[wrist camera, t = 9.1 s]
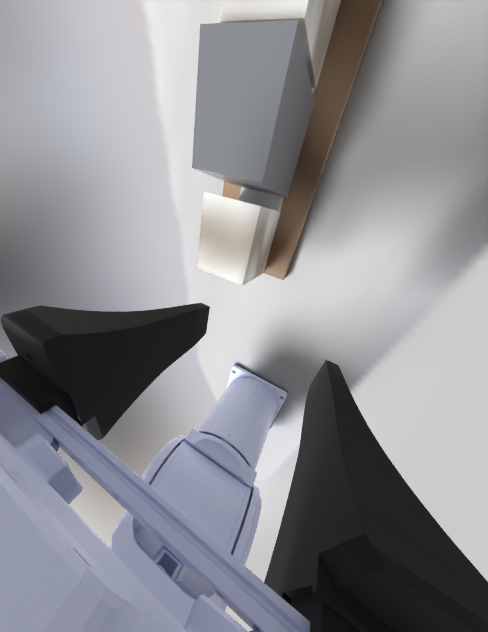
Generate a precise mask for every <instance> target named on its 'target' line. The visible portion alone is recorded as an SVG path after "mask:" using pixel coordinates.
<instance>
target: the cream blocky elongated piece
mask: <svg viewBox="0 0 488 632" xmlns="http://www.w3.org/2000/svg"><path fill="white" fill-rule="evenodd" d="M382 3H383V0H221V11H220V23H239V22H262V21H284V20H298V21H299V26H300V31H301V36H302V41H303V46H304V52H305V57H306V62H307V67H308V72H309V77H310V82H311V87H312V93H313V98H314V107H313V110H312V114H311V117H310V120H309V124H308V127H307V131H306V134H305V138H304V141H303V145H302V148H301V152H300V155H299V159H298V162H297V166H296V169H295V173H294V176H293V180H292V183H291V187H290V190H289V194H288V197H287V198H286V197H282V196H278V195H273V194H269V193H265V192H260V191H256V190H252V189H247V188H243V187H238V186H235V185H233V184H230V183H228V182H225V181H224V188H223V195H222V196H219V195H215V194H211V193H207V192H204V197H203V208H202V219H201V230H200V241H199V252H198V263H197V268H200V269H202V270H205V271H207V272H210V273H212V274H215V275H217V276H220V277H222V278H225V279H227V280H230V281H232V282H235V283H237V284H240V285H244V284H246V283H247V282H249V281H251V280H253V279H254V278H256V277H258V276H259V275H261V274H263V273H265V274H268V275H271V276H274V277H276V278H279V279H282V280H284V279H285V278H286V275H287V272H288V270H289V267H290V264H291V261H292V258H293V255H294V253H295V250H296V247H297V244H298V241H299V238H300V236H301V233H302V230H303V227H304V224H305V221H306V219H307V216H308V213H309V210H310V207H311V204H312V202H313V199H314V196H315V193H316V190H317V187H318V185H319V182H320V179H321V176H322V173H323V170H324V167H325V165H326V162H327V159H328V156H329V153H330V150H331V148H332V145H333V142H334V139H335V136H336V133H337V131H338V128H339V125H340V122H341V119H342V116H343V114H344V111H345V108H346V105H347V102H348V99H349V97H350V94H351V91H352V88H353V85H354V82H355V80H356V77H357V74H358V71H359V68H360V65H361V63H362V60H363V57H364V54H365V51H366V48H367V46H368V43H369V40H370V37H371V34H372V31H373V29H374V26H375V23H376V20H377V17H378V14H379V12H380V9H381V6H382Z"/></svg>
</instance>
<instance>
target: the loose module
mask: <svg viewBox="0 0 488 632" xmlns="http://www.w3.org/2000/svg"><path fill="white" fill-rule="evenodd" d="M313 107H314V98H313V93H312V87H311V82H310V77H309V72H308V67H307V62H306V57H305V52H304V46H303V41H302V36H301V31H300V26H299V21H298V20H284V21H262V22H239V23H216V24H200V41H199V59H198V76H197V93H196V111H195V128H194V145H193V163H192V168H194V169H196V170H199V171H201V172H203V173H206V174H208V175H211V176H213V177H216V178H218V179H220V180H223V181H225V182H228V183H230V184H233V185H235V186H238V187H243V188H247V189H252V190H256V191H260V192H265V193H269V194H273V195H278V196H282V197H286V198H287V197H288V194H289V190H290V187H291V183H292V180H293V176H294V173H295V169H296V166H297V162H298V159H299V155H300V152H301V148H302V145H303V141H304V138H305V134H306V131H307V127H308V124H309V120H310V117H311V114H312V110H313Z"/></svg>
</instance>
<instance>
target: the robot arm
mask: <svg viewBox="0 0 488 632" xmlns="http://www.w3.org/2000/svg"><path fill="white" fill-rule="evenodd" d="M209 308H210V307H209V306H207V305H205V304H202V303H197V304H190V305H184V306H177V307H171V308H163V309H156V310H147V311H131V312H100V311H84V310H71V309H63V308H55V307H47V306H36V307H32V308H27V309H24V310H20V311H16V312H12V313H8V314H4V315H3V316H2V318H1V323H2V326H3V329H4V331H5V333H6V334H7V336H8V338H9V340H10V342H11V343H12V345H13V347H14V349H15V350H16V352H17V354H18V356H16V357H13V358H11V359H9V358H8V357H7V356H6V355H5V353H3V352H2V351H1V350H0V632H248V631H246V629H244V628H243V627H242V626H241V625H240V624H239V623H238V622H237V621H236V620H234V619H233V618H232V617H231V616H230V615H228V614H227V613H226V612H225V609H226V606H227V605H228V606H229V607H230V608H231V609H232V610H233V611H234V612H235V613H236V614H237V615H238V616H239V617H240V618H241V619H242V620H243V621H244V622H245V623H247V624H248V625H249V626H250V627H251V628H252V629H253V630H252V631H249V632H488V582H487V581H486V579H485V578H484V577H483V576H482V575H481V574H480V573H479V571H478V570H477V569H476V568H475V567H474V566H473V564H472V563H471V562H470V561H469V560H468V559H467V557H466V556H465V555H464V554H463V553H462V552H461V550H460V549H459V548H458V547H457V546H456V545H455V544H454V542H453V541H452V540H451V539H450V538H449V536H448V535H447V534H446V533H445V532H444V530H443V529H442V528H441V527H440V525H439V524H438V523H437V522H436V520H435V519H434V518H433V517H432V515H431V514H430V513H429V512H428V510H427V509H426V508H425V507H424V505H423V504H422V503H421V502H420V500H419V499H418V498H417V496H416V495H415V494H414V493H413V491H412V490H411V489H410V487H409V486H408V485H407V483H406V482H405V481H404V479H403V478H402V476H401V475H400V474H399V472H398V471H397V469H396V468H395V467H394V465H393V464H392V462H391V461H390V460H389V458H388V457H387V455H386V454H385V452H384V451H383V449H382V448H381V446H380V445H379V443H378V441H377V440H376V438H375V437H374V435H373V434H372V432H371V430H370V428H369V427H368V425H367V423H366V421H365V420H364V418H363V416H362V414H361V412H360V411H359V409H358V407H357V405H356V403H355V401H354V399H353V397H352V395H351V393H350V391H349V388H348V386H347V384H346V382H345V379H344V377H343V375H342V373H341V370H340V368H339V366H338V365H336V364H334V363H332V362H330V361H327V360H326V361H325V363H324V364H323V366H322V367H321V369H320V371H319V372H318V374H317V375H316V377H315V379H314V380H313V382H312V384H311V385H310V388H309V392H308V395H307V399H306V403H305V410H304V418H303V426H302V433H301V441H300V448H299V453H298V458H297V462H296V467H295V471H294V475H293V480H292V483H291V487H290V492H289V496H288V499H287V503H286V507H285V511H284V515H283V518H282V522H281V526H280V530H279V533H278V537H277V540H276V544H275V547H274V551H273V555H272V558H271V562H270V565H269V568H268V572H267V575H266V579H265V582H263V581H262V580H260V579H259V578H258V577H257V576H256V575H255V574H253V573H252V572H251V571H250V570H249V569H248V568H246V567H245V563H246V560H247V558H248V554H249V552H250V548H251V545H252V542H253V539H254V535H255V532H256V528H257V524H258V520H259V516H260V510H261V498H260V494H259V493H260V492H259V489H258V488H257V487H256V486H254V485H253V483H254V480H255V477H256V474H257V473H256V471H255V468H256V465H257V462H258V460H259V457H260V454H261V451H262V448H263V445H264V442H265V439H266V437H267V434H268V431H269V428H270V427H271V425H272V423H273V421H274V419H275V417H276V416H277V414H278V412H279V410H280V408H281V406H282V405H283V403H284V401H285V399H286V397H287V392H286V391H284V390H282V389H280V388H278V387H276V386H275V385H273V384H271V383H269V382H267V381H265V380H263V379H261V378H260V377H258V376H256V375H254V374H252V373H250V372H248V371H246V370H245V369H243V368H241V367H239V366H237V365H233V366H232V368H231V372H230V376H229V379H228V383H227V387H226V390H225V392H224V393H223V394H222V396H221V397H220V399H219V400H218V402H217V403H216V405H215V406H214V407H213V409H212V410H211V412H210V413H209V414H208V416H207V417H206V419H205V420H204V422H203V423H202V425H201V426H200V427H199V429H198V430H197V431H196V430H194V429H193V430H192V431H191V432H190V434H189V435H188V436H187V437H185V436H184V435H180V436H178V437H176V438H173V439H172V440H170V441H169V442H168V443H167V444H166V445H165V446H164V447H163V448H162V449H161V450H160V451H159V452H158V453H157V455H156V456H155V457H154V458H153V460H152V461H151V463H150V464H149V466H148V467H147V468H146V470H145V471H144V473H143V475H142V476H141V477H140V476H139V475H138V474H136V473H135V472H134V471H133V470H132V469H130V468H129V467H128V466H127V465H126V464H125V463H123V462H122V461H121V460H120V459H119V458H118V457H116V456H115V455H114V454H113V453H112V452H111V451H109V450H108V449H107V448H106V447H105V446H104V445H102V444H101V443H100V442H99V441H98V440H100V439H103V438H104V436H105V435H106V434H107V433H108V431H109V430H110V429H111V428H112V427H113V425H114V424H115V423H116V422H117V421H118V419H119V418H120V417H121V416H122V415H123V413H124V412H125V411H126V410H127V409H128V408H129V407H130V406H131V404H132V403H133V402H134V401H135V400H136V399H137V398H138V397H139V395H140V394H141V393H142V392H143V391H144V390H145V389H146V388H147V387H148V386H149V385H150V384H151V383H152V382H153V381H154V380H155V379H156V378H157V377H158V376H159V375H160V374H161V373H162V372H163V371H164V370H165V369H166V368H167V367H169V366H170V365H171V364H172V363H173V362H175V361H176V360H177V359H178V358H180V357H181V356H182V355H183V354H184V353H186V352H187V351H188V350H189V349H191V348H192V347H193V346H194V345H195V344H196V343H197V342H198V341H199V340H200V339H201V338H202V337H203V336H204V335H205V334H206V329H207V322H208V315H209ZM281 396H282V397H281ZM59 447H60V448H61V449H63V450H64V451H65V452H66V453H67V454H68V455H69V456H70V457H71V458H72V459H73V460H74V461H75V462H76V463H77V464H78V465H80V466H81V467H82V468H83V469H84V470H85V471H86V472H87V473H88V474H89V475H90V476H91V477H92V478H93V479H94V480H95V481H96V482H97V483H99V484H100V485H101V486H102V487H103V488H104V489H105V490H106V491H107V492H108V493H109V494H110V495H111V496H112V497H113V498H114V499H115V500H117V501H118V502H119V503H120V504H121V505H122V506H123V507H124V508H125V511H124V513H123V515H122V516H121V518H120V519H119V521H118V523H117V528H116V529H115V531H114V532H113V534H112V537H111V549H110V548H109V547H108V546H107V545H106V544H105V543H104V542H103V541H102V540H101V539H100V538H99V537H98V536H97V535H96V533H95V532H94V531H92V529H91V528H90V527H89V526H88V525H87V524H86V523H85V522H84V521H83V520H82V519H81V517H80V516H79V515H78V514H77V513H76V512H75V511H74V510H73V509H72V508H71V507H70V506H69V504H70V503H71V501H72V500H73V499H74V498H75V497H76V496H77V495H78V494H79V493H80V492H81V491H82V486H81V485H80V483H79V482H78V481H77V479H76V478H75V477H74V475H73V474H72V472H71V471H70V469H69V467H68V464H67V463H66V462H65V461H64V460H63V458H62V457H61V456H60V455H59V454H58V453H57V451H58V448H59Z"/></svg>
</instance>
